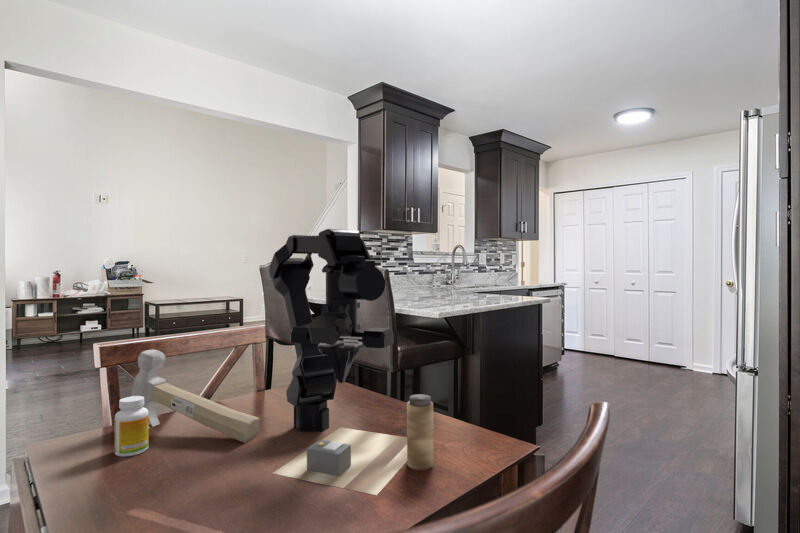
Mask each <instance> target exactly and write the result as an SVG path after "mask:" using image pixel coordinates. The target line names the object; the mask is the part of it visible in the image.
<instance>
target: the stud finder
mask: <svg viewBox="0 0 800 533" xmlns="http://www.w3.org/2000/svg"><path fill="white" fill-rule="evenodd" d="M306 450H307V470H309V471H314V472H319V473H324V474H329V475H334V476H340V475H341V474H342V473H343V472H345V471H346V470H347V469H348V468H349V467H350V466H351V445H349V444H343V443H338V442H331V441H325V440H323V439H319V440H317V441H316V442H315V443H313V444H312V445H310V446H308V447H307V448H306Z"/></svg>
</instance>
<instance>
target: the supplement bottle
mask: <svg viewBox="0 0 800 533" xmlns="http://www.w3.org/2000/svg"><path fill="white" fill-rule="evenodd" d="M143 405H144V397H143V396H131V395H130V396H127V397H124V398H123V397H122V398H121V399H119V401H118V408H119V409H120V410H119V411H117V412H116V413H115V415H114V454H115V455H116V456H117V457H122V458H123V457H131V456H132V457H133V456H137V455H140V454H142V453H145V452H146V451H147V450H148V449H149V443H150V442H149V428H148V425H149V422H148V418H149V414H148V410H147V409H146V408H144V407H143Z"/></svg>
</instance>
